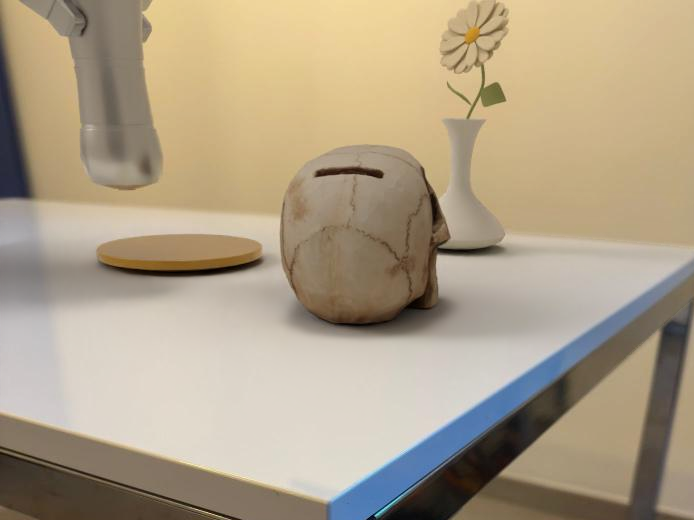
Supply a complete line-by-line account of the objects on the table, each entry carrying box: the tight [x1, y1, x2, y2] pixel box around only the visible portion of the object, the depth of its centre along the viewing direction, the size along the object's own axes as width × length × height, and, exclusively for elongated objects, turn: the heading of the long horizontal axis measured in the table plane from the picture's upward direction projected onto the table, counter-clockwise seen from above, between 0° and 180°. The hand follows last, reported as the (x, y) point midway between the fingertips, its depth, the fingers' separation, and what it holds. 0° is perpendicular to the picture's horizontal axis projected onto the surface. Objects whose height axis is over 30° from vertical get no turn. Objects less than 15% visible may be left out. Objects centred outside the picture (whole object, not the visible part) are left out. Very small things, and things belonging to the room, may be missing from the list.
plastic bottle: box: [67, 0, 164, 191], centre depth 61 cm, size 6×7×20 cm
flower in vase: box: [438, 0, 510, 250], centre depth 87 cm, size 13×11×25 cm
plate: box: [95, 233, 264, 273], centre depth 82 cm, size 17×17×2 cm
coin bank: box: [279, 143, 451, 325], centre depth 63 cm, size 16×17×13 cm
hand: (111, 33), depth 61 cm, fingers closed on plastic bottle, 6 cm apart
